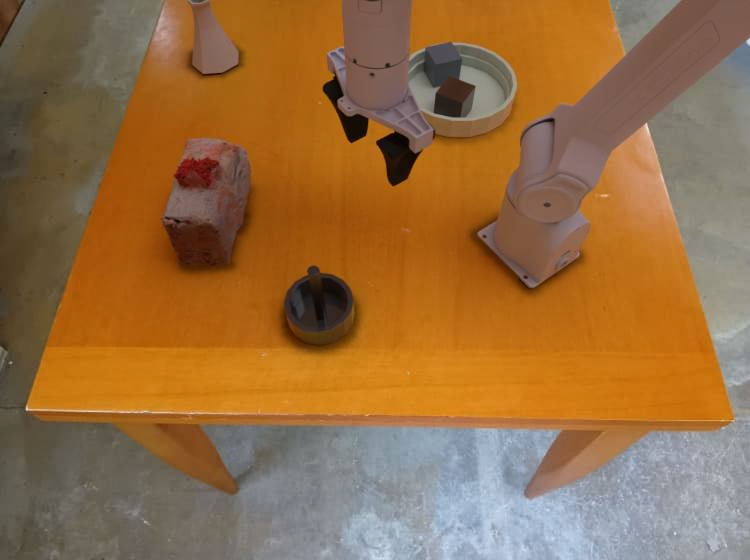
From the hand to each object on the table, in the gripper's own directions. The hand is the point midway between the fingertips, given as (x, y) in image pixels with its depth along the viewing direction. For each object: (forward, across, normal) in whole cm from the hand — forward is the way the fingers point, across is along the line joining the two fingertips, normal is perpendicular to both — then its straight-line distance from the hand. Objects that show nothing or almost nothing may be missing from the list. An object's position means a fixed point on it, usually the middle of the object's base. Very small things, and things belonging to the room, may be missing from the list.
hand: (377, 158), depth 61 cm
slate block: (+10, -16, +23) cm, 29 cm away
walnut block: (+10, -9, +19) cm, 23 cm away
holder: (+10, +8, -13) cm, 18 cm away
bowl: (+10, -11, +22) cm, 26 cm away
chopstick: (+10, +8, -13) cm, 18 cm away
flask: (+11, -39, -2) cm, 40 cm away
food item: (+11, -11, -16) cm, 22 cm away
